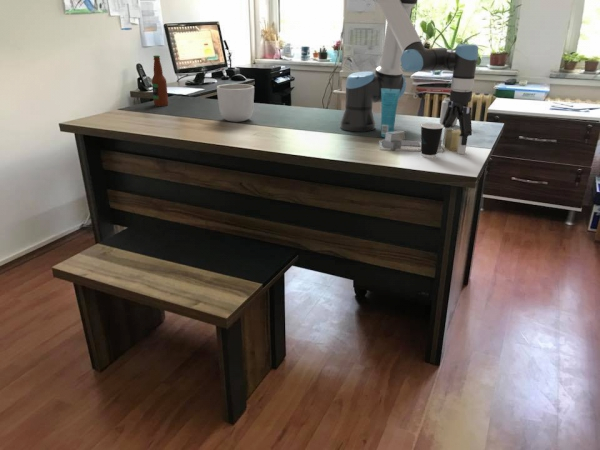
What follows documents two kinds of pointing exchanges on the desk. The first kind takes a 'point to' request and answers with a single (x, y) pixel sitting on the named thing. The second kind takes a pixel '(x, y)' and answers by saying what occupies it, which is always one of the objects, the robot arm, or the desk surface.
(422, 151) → the dixie cup
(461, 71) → the robot arm
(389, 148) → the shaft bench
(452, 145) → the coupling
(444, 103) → the can
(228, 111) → the planter
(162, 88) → the bottle
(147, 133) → the desk surface
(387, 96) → the tube
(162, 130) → the desk surface
